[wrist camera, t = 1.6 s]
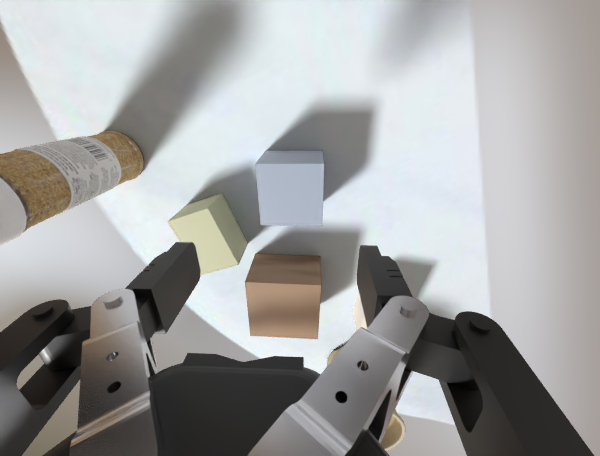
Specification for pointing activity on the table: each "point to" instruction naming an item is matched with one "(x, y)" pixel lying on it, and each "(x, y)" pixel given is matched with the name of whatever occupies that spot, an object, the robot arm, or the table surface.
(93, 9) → the table surface
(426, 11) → the table surface
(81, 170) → the sprinkles bottle
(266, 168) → the slate block
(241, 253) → the olive block
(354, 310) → the cream block
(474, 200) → the table surface
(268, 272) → the walnut block
